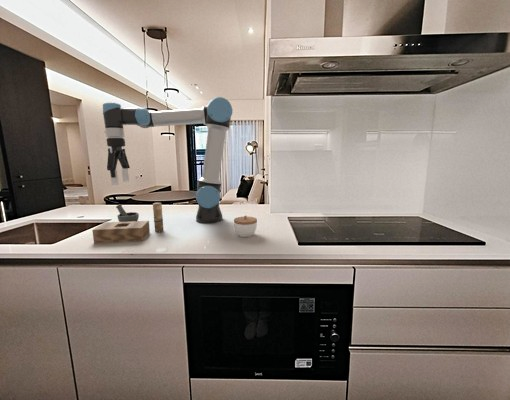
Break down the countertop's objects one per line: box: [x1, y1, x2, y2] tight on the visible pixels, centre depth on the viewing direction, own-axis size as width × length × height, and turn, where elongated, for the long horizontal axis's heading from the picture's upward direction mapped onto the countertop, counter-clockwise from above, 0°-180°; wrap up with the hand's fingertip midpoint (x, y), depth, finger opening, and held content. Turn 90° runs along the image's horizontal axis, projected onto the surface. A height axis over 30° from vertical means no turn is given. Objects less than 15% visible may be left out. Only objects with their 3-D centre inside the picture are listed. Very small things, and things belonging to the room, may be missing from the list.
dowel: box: [152, 202, 164, 233], centre depth 125 cm, size 4×4×14 cm
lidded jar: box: [233, 215, 258, 238], centre depth 118 cm, size 11×11×9 cm
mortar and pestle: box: [115, 203, 140, 222], centre depth 133 cm, size 11×9×12 cm
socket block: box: [91, 220, 151, 244], centre depth 116 cm, size 20×12×6 cm, turn 98°
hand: (120, 183), depth 123 cm, fingers open, 13 cm apart
